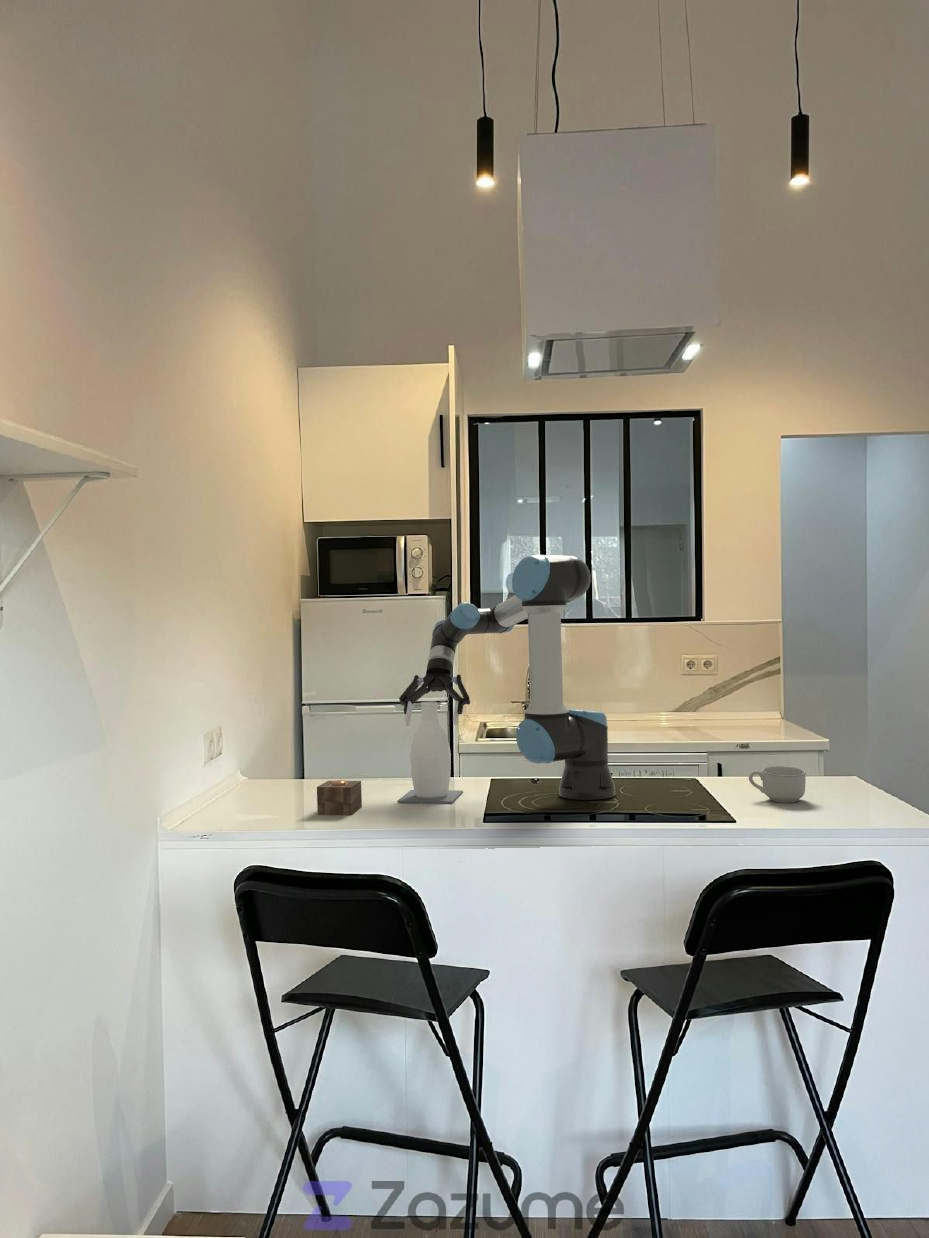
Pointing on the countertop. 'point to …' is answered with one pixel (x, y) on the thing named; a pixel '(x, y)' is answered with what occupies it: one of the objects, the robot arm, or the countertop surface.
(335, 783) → the release button
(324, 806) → the button housing
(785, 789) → the teacup
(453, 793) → the mat
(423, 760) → the bottle
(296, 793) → the countertop surface
